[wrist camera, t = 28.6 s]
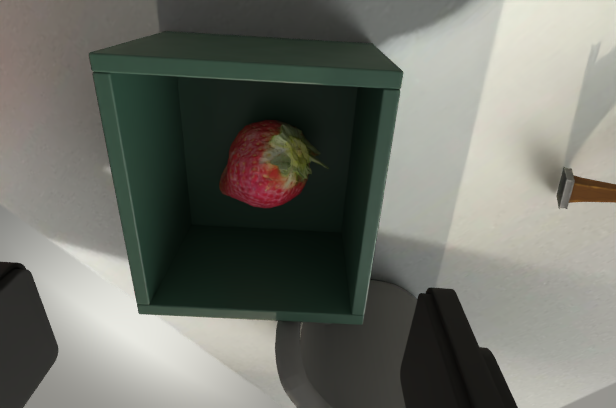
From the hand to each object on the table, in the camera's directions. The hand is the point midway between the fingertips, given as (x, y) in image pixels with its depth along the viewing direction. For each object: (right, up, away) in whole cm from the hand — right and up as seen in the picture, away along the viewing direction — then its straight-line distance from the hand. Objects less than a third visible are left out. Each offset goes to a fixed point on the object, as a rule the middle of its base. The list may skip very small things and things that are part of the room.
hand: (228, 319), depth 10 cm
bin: (0, +6, +12) cm, 14 cm away
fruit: (0, +6, +12) cm, 13 cm away
